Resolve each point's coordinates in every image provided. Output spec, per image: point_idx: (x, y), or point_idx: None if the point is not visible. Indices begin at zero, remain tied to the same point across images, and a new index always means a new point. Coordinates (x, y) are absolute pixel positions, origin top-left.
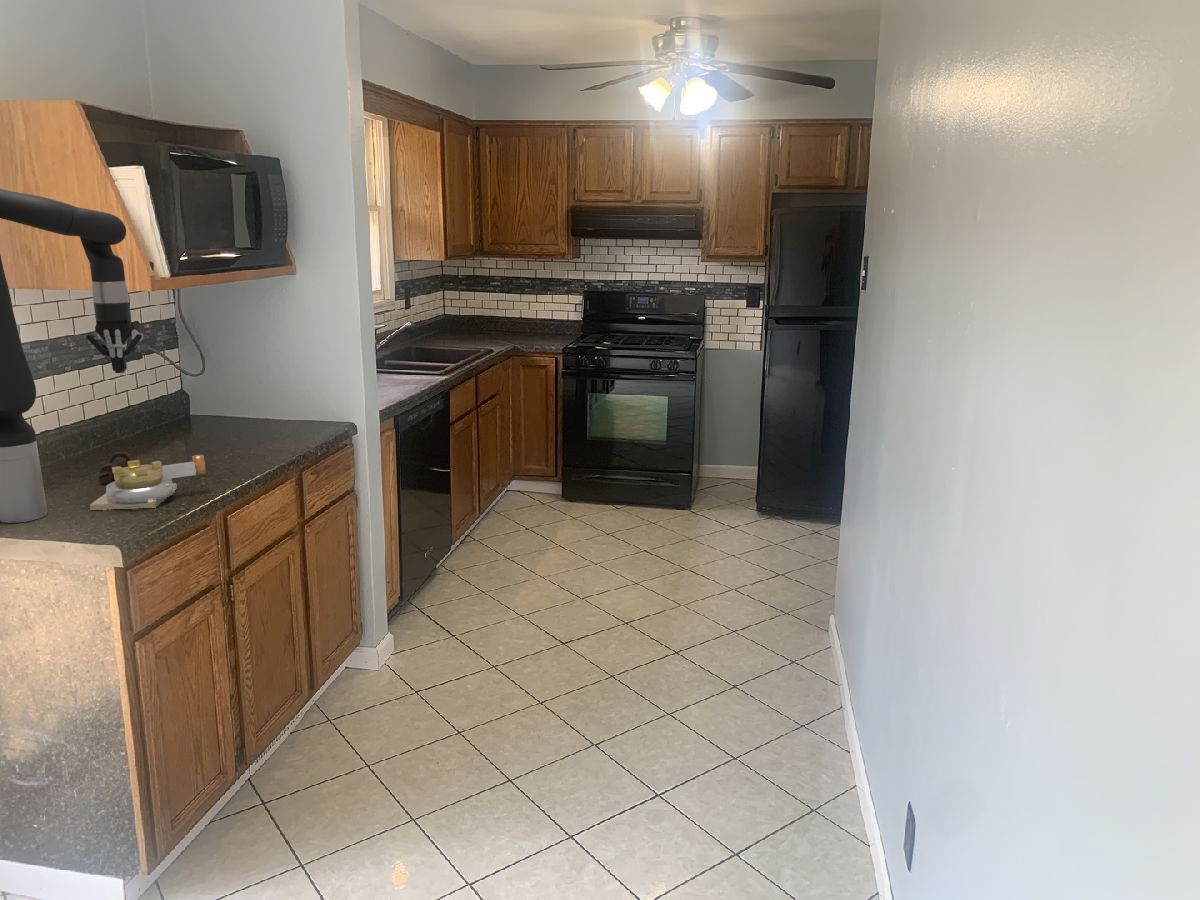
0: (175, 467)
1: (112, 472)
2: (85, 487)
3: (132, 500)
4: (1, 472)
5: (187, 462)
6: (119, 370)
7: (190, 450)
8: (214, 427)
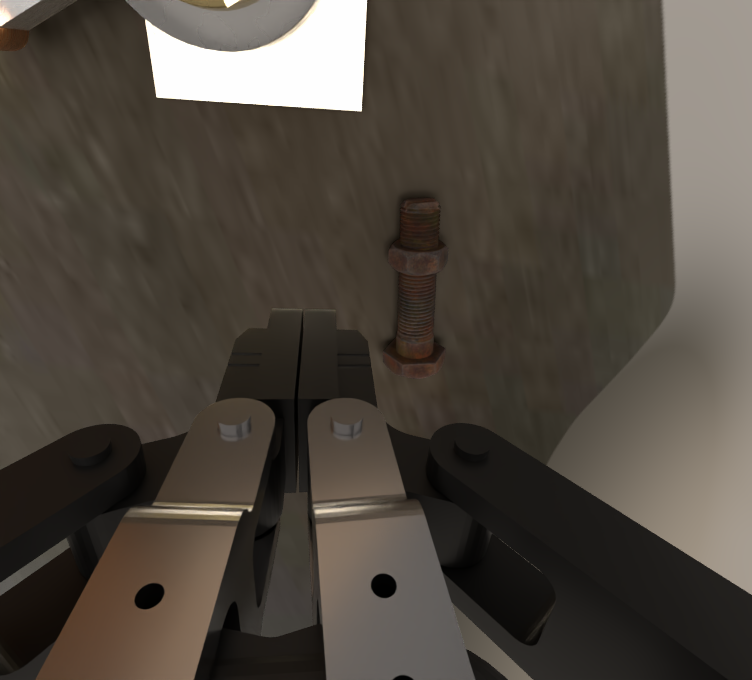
0: None
1: (404, 227)
2: (469, 174)
3: None
4: None
5: (16, 11)
6: (289, 316)
7: (295, 494)
8: None
